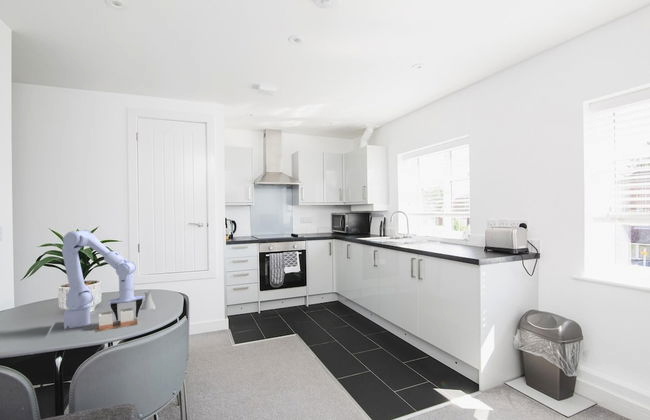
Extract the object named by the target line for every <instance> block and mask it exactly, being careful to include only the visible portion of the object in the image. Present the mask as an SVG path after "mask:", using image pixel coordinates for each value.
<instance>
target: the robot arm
mask: <svg viewBox="0 0 650 420" xmlns="http://www.w3.org/2000/svg"><path fill="white" fill-rule="evenodd" d="M62 242H63V244H62V249H61V254H62V257H63V262H64V263H63V264H64V267H65V273H66V277H67V281H68V286H69V290H68V292H67V293H66V294H65V295H66V300H65V306H66V308H68V309H65V310H64V313H63V329H64V330H66V329H73V328H79V327H85V326H87V325H90V324H91V303H92V302H93V301H94V294H93V293H92V292H91V290H90V287H89V286H88V285H86V284H85V280H84V276H83V270H82V266H81V261H80V256H79V251H80V250H81V248H83V247H89V248H91V249H92V250H94V251H95V252H97V253H98V254H99V255H101V256H102V257H103V260H104V262H105V263H107V264H108V265H109V266H110V267H111V268H113V269H114V270H115V273H116V275H117V276H118V286H119V287H118V291H119V293H118V294H119V297H118V298H114V299H109V300H107V306H110V309H111V311H113V314H114V317H115V322H116V321H119V314H118V305H119V304H120V305H121V304H126V303H127V304H128V303H134V302H135V318H138V317H139V316H138V315H139V311H140V310H141V308H142V305H143V302H144V300H145V294H143V295H135V292H134V291H135V290H134V289H135V288H134V287H135V286H134V284H135V283H134V282H135V281H134V275H135V274H134V272H135V271H136V269H137V266H136V264H135V263H134V262H133V261H131V260H128V259H127V258H124V257H123V256H122V255H121V254H120V252H119V251H114V250H113V251H111V250H110V249H109V248H108V247H107V246H105V245H104V243H102V242H101V241H100V239H98V238H97V237H96V235H95V234H94V233H92V231H90V230H87V229H82V230H76V231H74V230H73V231H69V232H67V233H66V234H64V235H63V237H62Z"/></svg>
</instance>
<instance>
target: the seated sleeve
mask: <svg viewBox="0 0 650 420" xmlns="http://www.w3.org/2000/svg"><path fill="white" fill-rule="evenodd" d="M113 314H114V312H113V310H109V311H102V312H99V313H98V324H99V330H100V329H105V328H111V327H113V322H114V317H113V316H114V315H113Z"/></svg>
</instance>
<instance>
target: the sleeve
mask: <svg viewBox="0 0 650 420" xmlns="http://www.w3.org/2000/svg"><path fill="white" fill-rule="evenodd" d="M119 311H120V321H121V326H123V325H128V324H134V307H129V308H121V309H120V310H119Z"/></svg>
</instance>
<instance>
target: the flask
mask: <svg viewBox="0 0 650 420" xmlns="http://www.w3.org/2000/svg"><path fill="white" fill-rule="evenodd" d="M144 295H145V300H144V301H142V305H141V307H140V310H152V309H153V311H156V310H157V307H156V304H155V302H154V301H153V298H152V290H147V291H145V292H144Z"/></svg>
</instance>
